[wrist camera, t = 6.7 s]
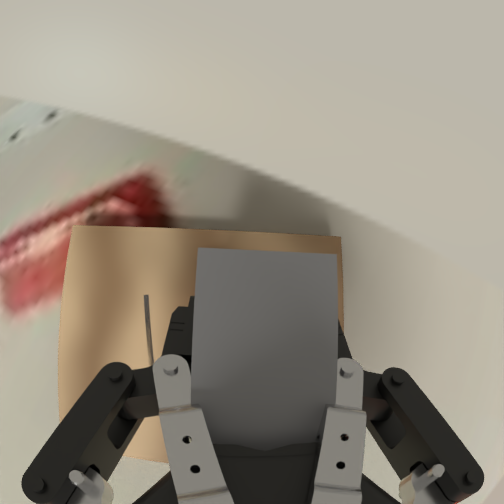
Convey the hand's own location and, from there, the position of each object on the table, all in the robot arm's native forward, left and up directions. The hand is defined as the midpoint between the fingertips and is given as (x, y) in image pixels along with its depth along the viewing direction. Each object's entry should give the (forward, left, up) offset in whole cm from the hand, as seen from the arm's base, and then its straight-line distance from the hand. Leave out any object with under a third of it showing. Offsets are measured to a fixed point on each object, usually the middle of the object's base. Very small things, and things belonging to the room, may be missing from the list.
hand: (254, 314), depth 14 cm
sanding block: (0, -2, -3) cm, 4 cm away
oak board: (-3, -2, -5) cm, 6 cm away
